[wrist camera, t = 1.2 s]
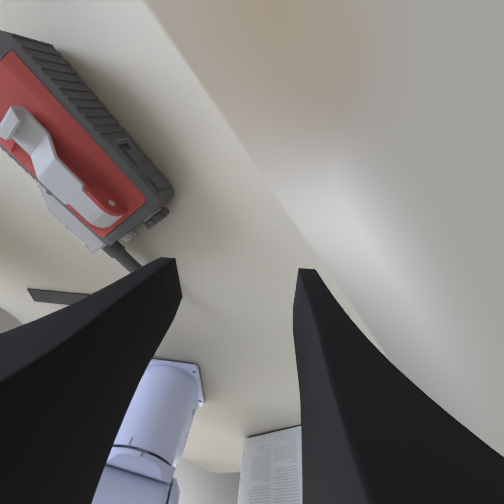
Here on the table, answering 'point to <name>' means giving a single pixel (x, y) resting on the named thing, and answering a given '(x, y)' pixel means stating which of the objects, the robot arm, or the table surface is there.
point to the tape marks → (55, 296)
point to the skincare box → (272, 468)
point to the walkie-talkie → (75, 150)
